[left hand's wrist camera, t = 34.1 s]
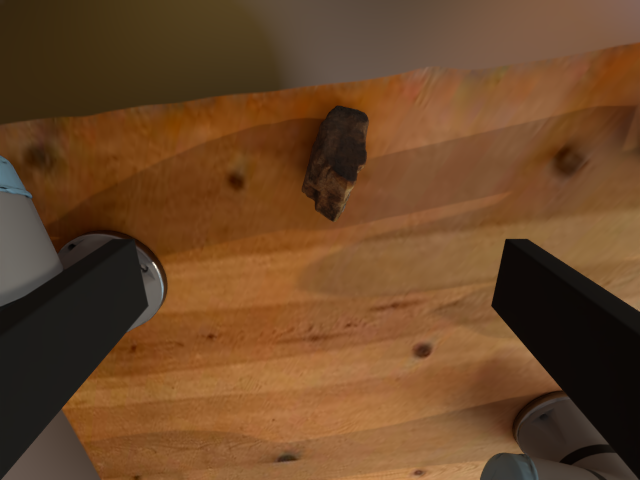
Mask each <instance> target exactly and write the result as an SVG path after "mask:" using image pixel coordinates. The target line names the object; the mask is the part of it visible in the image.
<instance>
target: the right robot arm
mask: <svg viewBox="0 0 640 480" xmlns="http://www.w3.org/2000/svg"><path fill="white" fill-rule="evenodd" d="M513 435H514V438H515V440H516V441H517V443H518V445H519V447H520V448H521V450H522V451H523V452H524V453H525V454H511V453H499V454H496V455H494V456H493V457H492V458H490V459H489V461H488V462H487V463H486V465H485V467H484V469H483V471H482V474H481V477H480V480H639V479H638V478H637V477H636V476H635V474H634V473H633V472H632V471H631V470H630V469H629V467H628V466H627V465H626V464H625V463H624V461H623V460H622V459H621V458H620V457H619V456H618V454H617V453H616V452H615V451H614V450H613V449H612V447H611V446H610V445H609V444H608V443H607V441H606V440H605V439H604V438H603V437H602V436H601V434H600V433H599V432H598V431H597V430H596V429H595V427H594V426H593V425H592V424H591V423H590V421H589V420H588V419H587V418H586V417H585V416H584V414H583V413H582V412H581V411H580V410H579V409H578V407H577V406H576V405H575V404H574V403H573V401H572V400H571V399H570V398H569V397H568V396H567V394H566V393H565V392H564V391H560V392H554V393H550V394H547V395H544V396H542V397H539V398H537V399H536V400H534V401H532V402H531V403H529V404H528V405H527V406H526V407H524V408H523V409H522V410H521V412H520V413H519V414H518V416H517V417H516V419H515V422H514V425H513Z"/></svg>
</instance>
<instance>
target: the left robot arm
mask: <svg viewBox="0 0 640 480" xmlns="http://www.w3.org/2000/svg"><path fill="white" fill-rule="evenodd" d="M31 198H33V197H32V195H31V194H30V193H29V192H28V191H26V189H25V187H24V186H23V184H22V182H21V180H20V178H19V177H18V175H17V173H16V171H15V169H14V167H13V166H12V164H11V163H10V162H9V161H8V160H7V159H5V158H4V157H2V156H0V480H1V479H2V478H3V477H4V475H5V474H6V473H7V472H8V471H9V470H10V469H11V467H12V466H13V465H14V464H15V463H16V461H17V460H18V459H19V458H20V457H21V456H22V454H23V453H24V452H25V451H26V450H27V448H28V447H29V446H30V445H31V444H32V443H33V441H34V440H35V439H36V438H37V437H38V435H39V434H40V433H41V432H42V431H43V430H44V429H45V427H46V426H47V425H48V424H49V423H50V421H51V420H52V419H53V418H54V417H55V416H56V414H57V413H58V412H59V411H60V410H61V409H62V407H63V406H64V405H65V404H66V403H67V401H68V400H69V399H70V398H71V397H72V396H73V394H74V393H75V392H76V391H77V390H78V389H79V387H80V386H81V385H82V384H83V383H84V381H85V380H86V379H87V378H88V377H89V376H90V374H91V373H92V372H93V371H94V370H95V369H96V367H97V366H98V365H99V364H100V363H101V361H102V360H103V359H104V358H105V357H106V356H107V354H108V353H109V352H110V351H111V350H112V349H113V347H114V346H115V345H116V344H117V343H118V341H119V340H120V339H121V338H122V337H123V336H124V334H125V333H126V332H128V331H130V330H132V329H133V328H135V327H137V326H140V325H142V324H143V323H145V322H147V321H148V320H150V319H151V318H152V317H153V316H154V315H155V314H156V312H157V311H158V310H159V308H160V307H161V306H162V304H163V302H164V300H165V298H166V294H167V279H166V275H165V271H164V269H163V267H162V265H161V263H160V262H159V260H158V259H157V257H156V256H155V255H154V254H153V253H152V252H151V250H149V249H148V248H147V247H146V246H145V245H143V244H142V243H141V242H139V241H138V240H136V239H134V238H132V237H130V236H127V235H125V234H122V233H118V232H113V231H93V232H89V233H86V234H83V235H81V236H79V237H77V238H75V239H74V240H72V241H70V242H69V243H67V244H66V245H65V246H64V247H63V248H62V249H61V250H60V251H59V253H58V254H57V253H56V251H55V249H54V246H53V244H52V242H51V240H50V238H49V236H48V234H47V232H46V229H45V227H44V225H43V223H42V221H41V219H40V217H39V215H38V213H37V210H36V208H35V206H34V204H33V202H32V200H31ZM491 306H492V307H493V309H494V310H495V311H496V312H497V313H498V314H499V316H500V317H501V318H502V319H503V320H504V321H505V323H506V324H507V325H508V326H509V327H510V329H511V330H512V331H513V332H514V333H515V334H516V336H517V337H518V338H519V339H520V340H521V341H522V343H523V344H524V345H525V346H526V347H527V349H528V350H529V351H530V352H531V353H532V354H533V356H534V357H535V358H536V359H537V360H538V361H539V363H540V364H541V365H542V366H543V367H544V369H545V370H546V371H547V372H548V373H549V374H550V376H551V377H552V378H553V379H554V380H555V381H556V383H557V384H558V385H559V386H560V387H561V389H562V390H563V391H564V392H565V393H566V394H567V396H568V397H569V398H570V399H571V400H572V401H573V403H574V404H575V405H576V406H577V407H578V409H579V410H580V411H581V412H582V413H583V414H584V416H585V417H586V418H587V419H588V420H589V421H590V423H591V424H592V425H593V426H594V427H595V429H596V430H597V431H598V432H599V433H600V434H601V436H602V437H603V438H604V439H605V440H606V441H607V443H608V444H609V445H610V446H611V447H612V449H613V450H614V451H615V452H616V453H617V454H618V456H619V457H620V458H621V459H622V460H623V461H624V463H625V464H626V465H627V466H628V467H629V469H630V470H631V471H632V472H633V473H634V474H635V476H636V477H637V478H638V479H639V480H640V312H639V311H638V310H636V309H635V308H633V307H631V306H630V305H628V304H627V303H625V302H624V301H622V300H621V299H619V298H618V297H616V296H614V295H613V294H611V293H610V292H608V291H607V290H605V289H604V288H602V287H601V286H599V285H598V284H596V283H594V282H593V281H591V280H590V279H588V278H587V277H585V276H584V275H582V274H581V273H579V272H578V271H576V270H574V269H573V268H571V267H570V266H568V265H567V264H565V263H564V262H562V261H561V260H559V259H557V258H556V257H554V256H553V255H551V254H550V253H548V252H547V251H545V250H544V249H542V248H541V247H539V246H537V245H536V244H534V243H533V242H531V241H530V240H528V239H506V240H505V245H504V249H503V254H502V259H501V263H500V268H499V273H498V277H497V282H496V287H495V291H494V296H493V301H492V305H491Z"/></svg>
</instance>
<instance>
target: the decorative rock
mask: <svg viewBox="0 0 640 480" xmlns="http://www.w3.org/2000/svg"><path fill="white" fill-rule="evenodd" d="M368 124H369V120H368V117H367V115H366V114H365V113H363V112H361V111H359V110H356V109H351V108H347V107H343V106H336V107H335V108H334V109H332V110H331V112H329V114H328V115H327V117H326V119H325V120H324V121H323V122H322V123H321V125H320V128H319V132H318V135H317V138H316V141H315V142H314V145H313V147H312V152H311V156H310V160H309V164H308V167H307V171H306V175H305V179H304V182H303V186H302V192H303V193H305V194H306V195H307V197H309V198H311V199H313V200H314V201H315V210H316V211H317V212H320V213H321V214H322V215H324V216H325V217H326V218H328V219H329V220H331V221H333V222H335V221H337V220H338V218H339V216H340V215H341V213H342V212H343V211H344V208H345V205H346V201H347V200H348V198H349V195H350V191H351V190H352V189H353V187H354V185H355V184H356V180H357V173H358V172H359V171H360V170H361V169H362V168H364V167H365V163H366V159H367V152H366V149H365V148H366V134H367V128H368Z"/></svg>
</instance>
